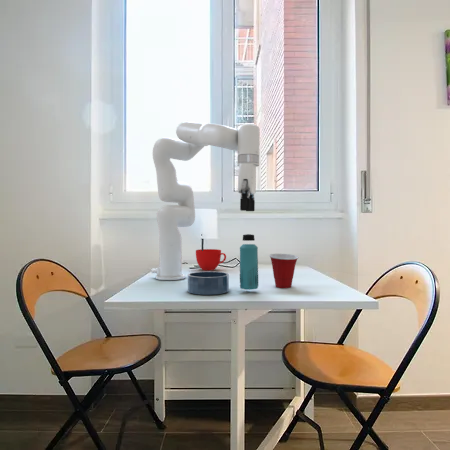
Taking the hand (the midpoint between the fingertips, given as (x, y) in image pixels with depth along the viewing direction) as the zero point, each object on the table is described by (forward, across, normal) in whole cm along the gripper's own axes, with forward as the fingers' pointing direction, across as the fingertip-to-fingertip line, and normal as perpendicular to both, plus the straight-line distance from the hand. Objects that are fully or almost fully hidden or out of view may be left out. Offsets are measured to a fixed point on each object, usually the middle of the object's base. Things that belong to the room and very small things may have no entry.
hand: (247, 210), depth 122 cm
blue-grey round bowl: (+28, +3, -13) cm, 31 cm away
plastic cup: (+28, -12, +12) cm, 33 cm away
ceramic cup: (+29, -51, -27) cm, 65 cm away
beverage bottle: (+28, +1, +1) cm, 28 cm away
